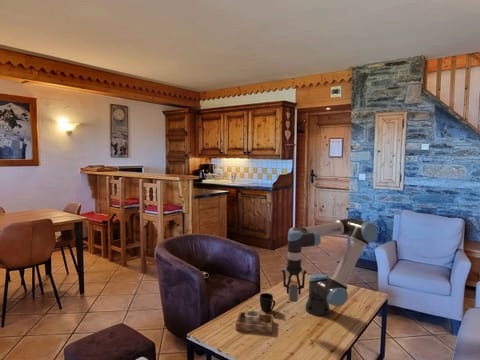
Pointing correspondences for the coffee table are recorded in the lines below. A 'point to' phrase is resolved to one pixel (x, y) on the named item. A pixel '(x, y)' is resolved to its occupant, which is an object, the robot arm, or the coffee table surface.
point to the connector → (293, 290)
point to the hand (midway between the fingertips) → (293, 299)
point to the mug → (266, 302)
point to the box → (254, 322)
